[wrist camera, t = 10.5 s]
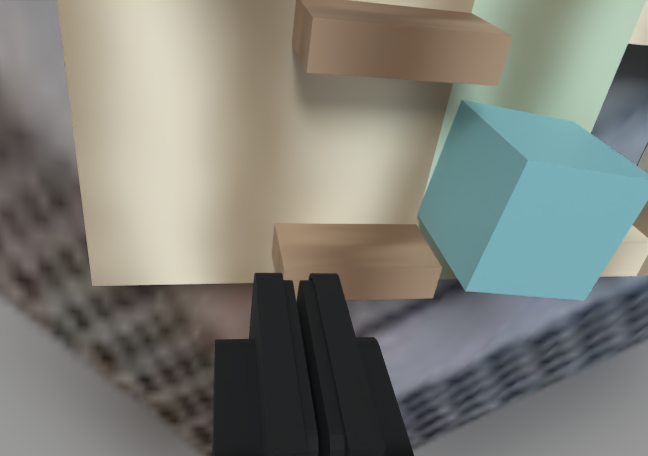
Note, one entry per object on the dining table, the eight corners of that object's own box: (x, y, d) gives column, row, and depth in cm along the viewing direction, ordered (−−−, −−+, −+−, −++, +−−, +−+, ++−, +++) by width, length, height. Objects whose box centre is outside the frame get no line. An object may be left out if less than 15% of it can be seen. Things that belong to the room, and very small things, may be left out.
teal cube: (572, 121, 22) (659, 181, 18) (519, 226, 24) (584, 300, 20) (461, 99, 20) (528, 160, 16) (417, 213, 23) (465, 291, 19)
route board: (752, -9, 23) (898, 26, 18) (623, 241, 30) (705, 315, 25) (67, -99, 17) (15, -81, 12) (103, 242, 24) (78, 340, 19)
